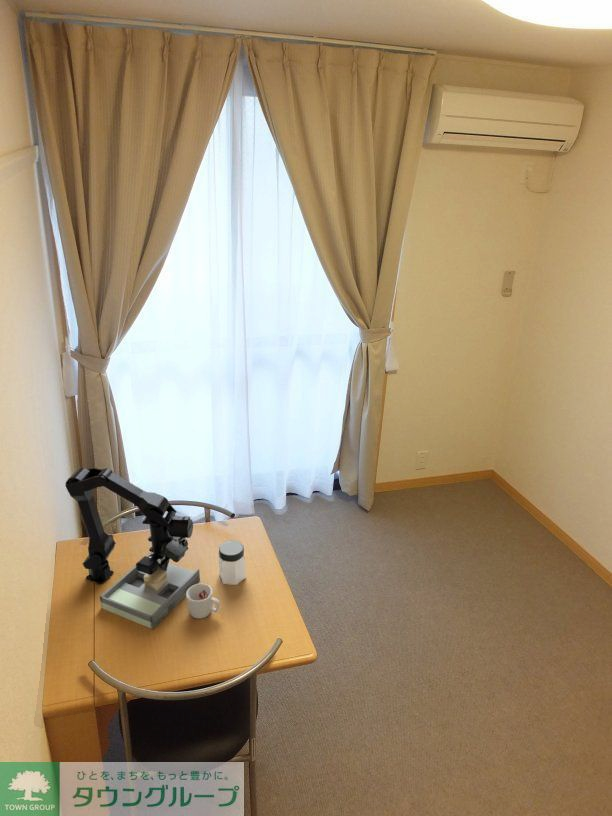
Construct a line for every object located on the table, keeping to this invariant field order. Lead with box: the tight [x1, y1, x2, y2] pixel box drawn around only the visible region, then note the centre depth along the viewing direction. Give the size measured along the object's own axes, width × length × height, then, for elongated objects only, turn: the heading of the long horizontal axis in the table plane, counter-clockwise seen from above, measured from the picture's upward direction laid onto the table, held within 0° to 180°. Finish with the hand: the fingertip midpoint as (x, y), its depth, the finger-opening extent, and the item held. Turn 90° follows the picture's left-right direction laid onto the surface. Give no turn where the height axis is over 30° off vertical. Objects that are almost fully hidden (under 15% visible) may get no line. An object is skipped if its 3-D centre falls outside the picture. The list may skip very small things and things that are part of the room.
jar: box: [218, 539, 246, 586], centre depth 181 cm, size 9×8×12 cm
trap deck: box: [99, 551, 201, 630], centre depth 175 cm, size 20×24×4 cm
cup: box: [185, 583, 221, 619], centre depth 167 cm, size 11×8×8 cm
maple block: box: [144, 569, 167, 591], centre depth 175 cm, size 5×5×4 cm
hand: (164, 572), depth 179 cm, fingers closed
